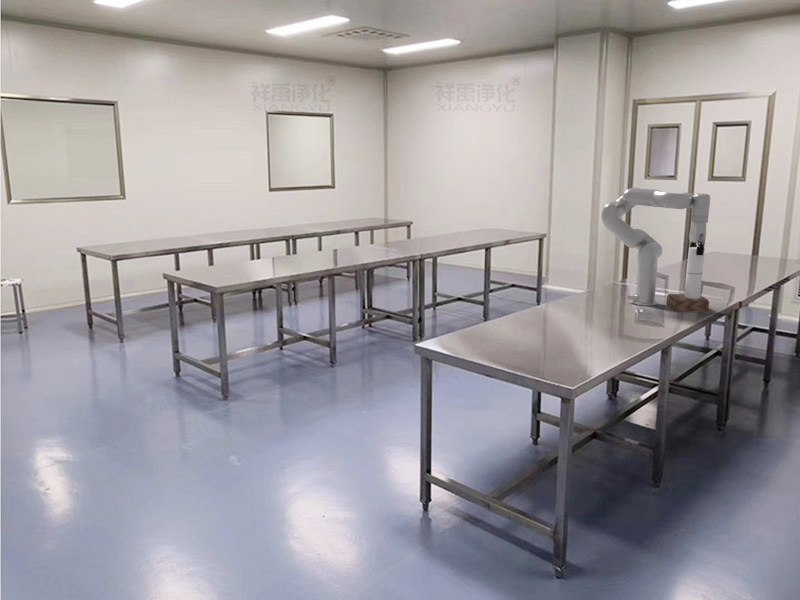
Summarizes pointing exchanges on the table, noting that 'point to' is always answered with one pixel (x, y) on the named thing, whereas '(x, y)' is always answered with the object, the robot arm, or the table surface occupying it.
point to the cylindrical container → (694, 274)
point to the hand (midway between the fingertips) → (696, 253)
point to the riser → (687, 303)
